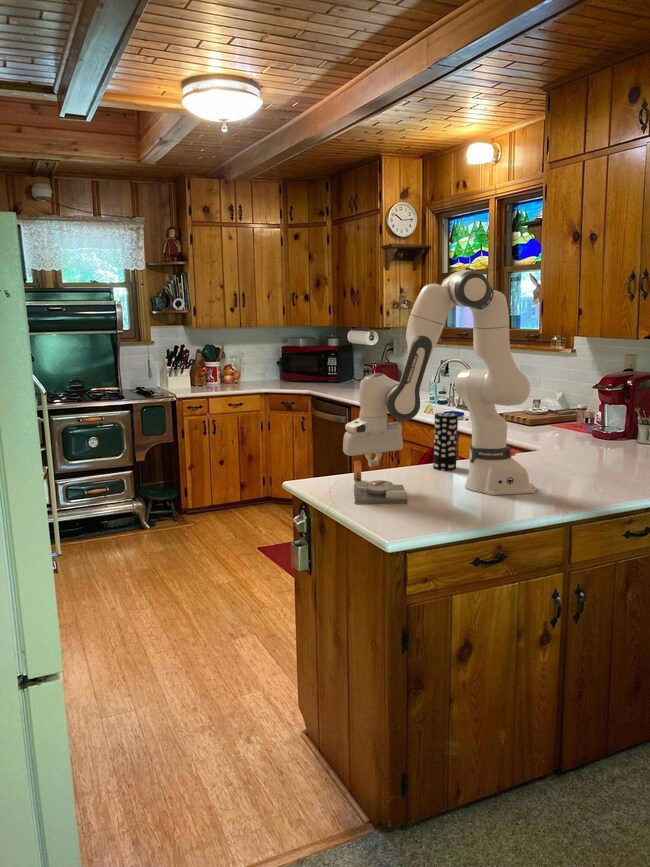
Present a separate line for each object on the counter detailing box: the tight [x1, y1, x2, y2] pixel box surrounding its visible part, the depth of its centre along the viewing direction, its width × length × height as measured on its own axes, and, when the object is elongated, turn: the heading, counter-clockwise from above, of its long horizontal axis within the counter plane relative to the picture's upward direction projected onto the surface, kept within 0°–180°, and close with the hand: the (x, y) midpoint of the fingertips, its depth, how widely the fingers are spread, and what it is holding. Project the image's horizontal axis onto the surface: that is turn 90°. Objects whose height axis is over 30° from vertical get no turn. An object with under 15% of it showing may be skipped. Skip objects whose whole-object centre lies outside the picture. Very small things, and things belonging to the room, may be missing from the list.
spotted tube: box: [432, 412, 459, 472], centre depth 256 cm, size 8×8×20 cm
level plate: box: [353, 483, 409, 505], centre depth 220 cm, size 16×17×3 cm
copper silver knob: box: [353, 460, 394, 495], centre depth 221 cm, size 8×13×8 cm, turn 59°
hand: (373, 465), depth 227 cm, fingers closed
